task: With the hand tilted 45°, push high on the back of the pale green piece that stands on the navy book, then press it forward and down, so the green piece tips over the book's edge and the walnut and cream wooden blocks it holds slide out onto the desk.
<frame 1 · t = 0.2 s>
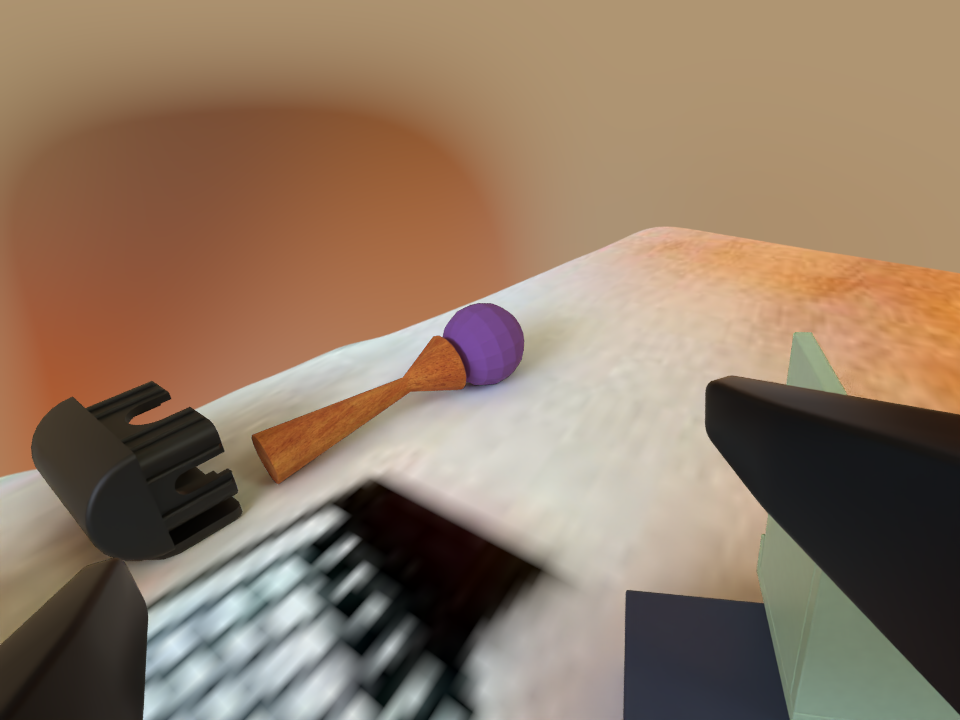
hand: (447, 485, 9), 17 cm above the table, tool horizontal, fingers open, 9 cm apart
end cap: (154, 519, 36), on the table
kendama: (408, 419, 43), on the table
green piece: (956, 658, 19), point 4 cm above the table, touching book, cream block, walnut block
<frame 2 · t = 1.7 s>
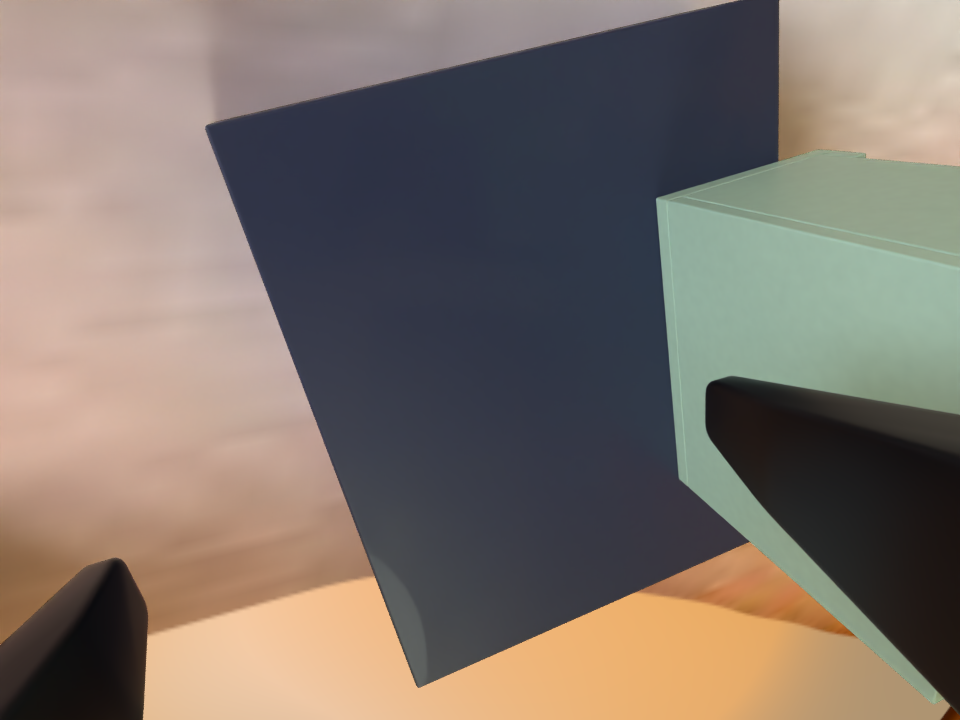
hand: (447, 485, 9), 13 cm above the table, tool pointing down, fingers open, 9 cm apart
green piece: (742, 326, 22), point 4 cm above the table, touching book, cream block, walnut block
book: (528, 345, 24), on the table
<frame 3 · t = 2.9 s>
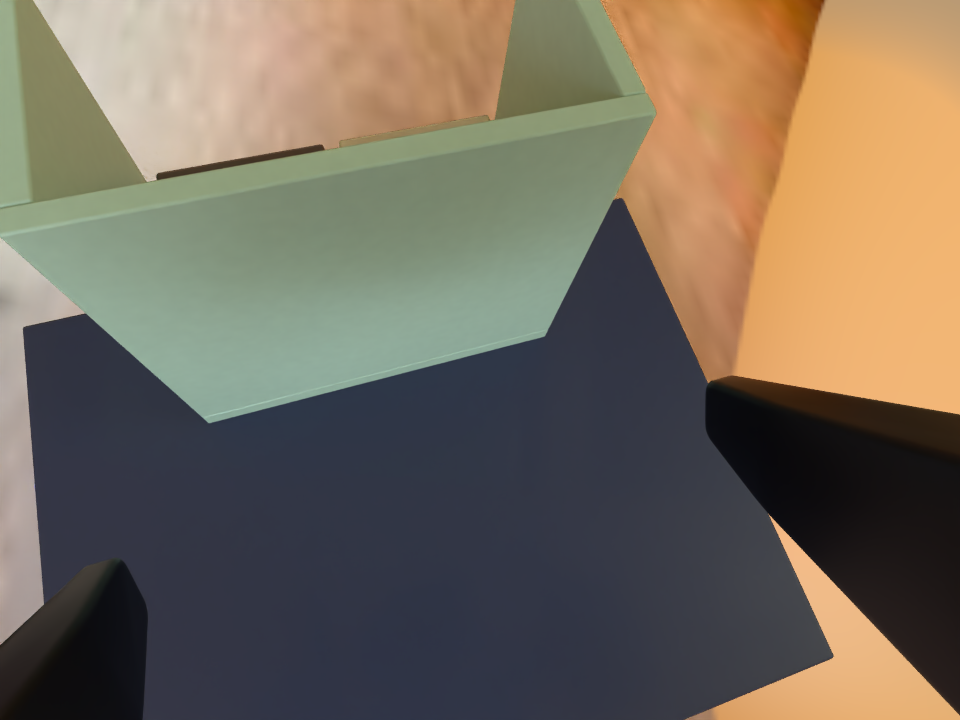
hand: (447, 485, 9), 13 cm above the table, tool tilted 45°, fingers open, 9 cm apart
walnut block: (273, 267, 17), point 7 cm above the table, touching green piece
cream block: (433, 233, 18), point 7 cm above the table, touching green piece
green piece: (362, 294, 20), point 4 cm above the table, touching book, cream block, walnut block
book: (415, 506, 22), on the table
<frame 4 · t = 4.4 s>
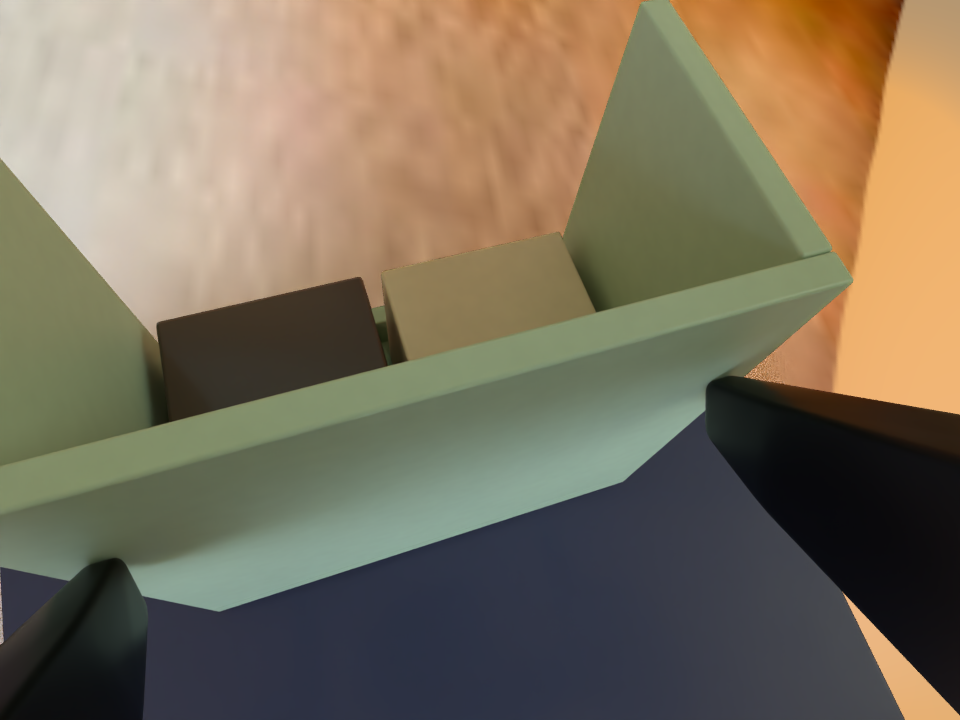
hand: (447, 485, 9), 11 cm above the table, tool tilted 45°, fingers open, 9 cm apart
walnut block: (300, 423, 14), point 7 cm above the table, touching green piece
cream block: (493, 371, 15), point 7 cm above the table, touching green piece
green piece: (403, 433, 17), point 4 cm above the table, touching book, cream block, walnut block
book: (463, 674, 18), on the table
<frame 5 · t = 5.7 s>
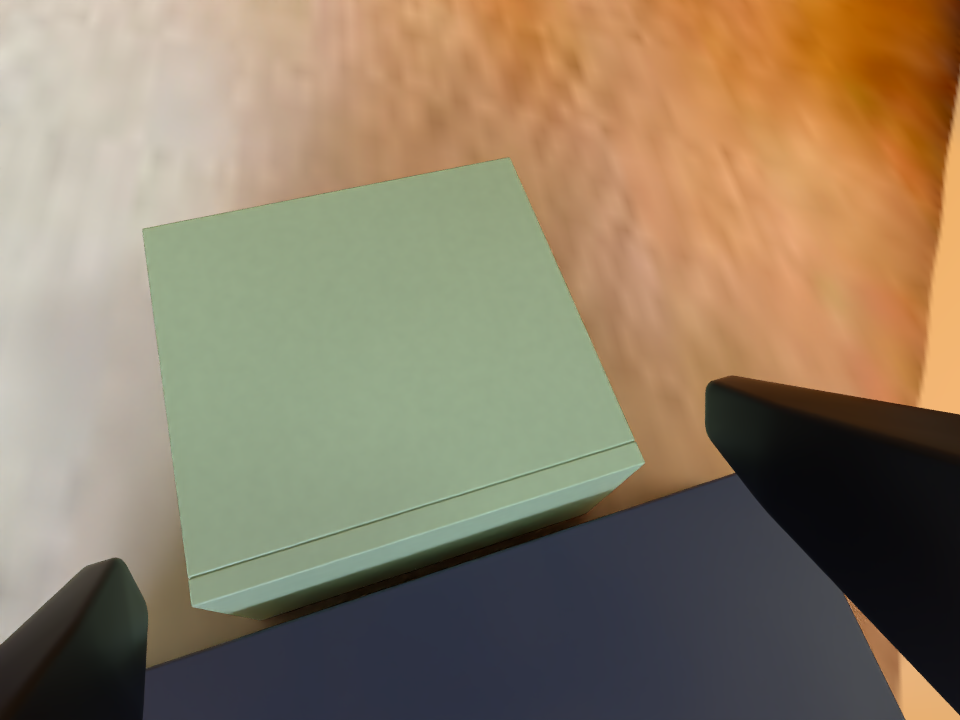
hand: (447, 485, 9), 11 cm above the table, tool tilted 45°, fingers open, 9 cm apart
green piece: (434, 549, 17), point 3 cm above the table, tilted 93°, touching cream block, walnut block
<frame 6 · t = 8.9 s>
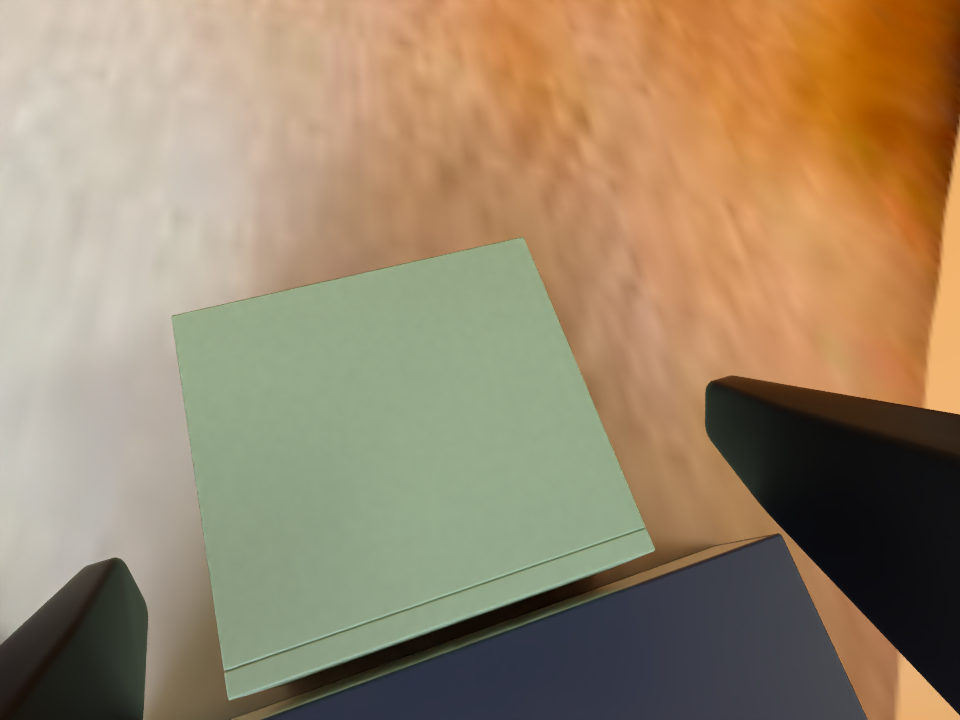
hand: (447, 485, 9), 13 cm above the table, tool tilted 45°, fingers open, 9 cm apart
green piece: (452, 624, 17), point 3 cm above the table, tilted 93°, touching cream block, walnut block
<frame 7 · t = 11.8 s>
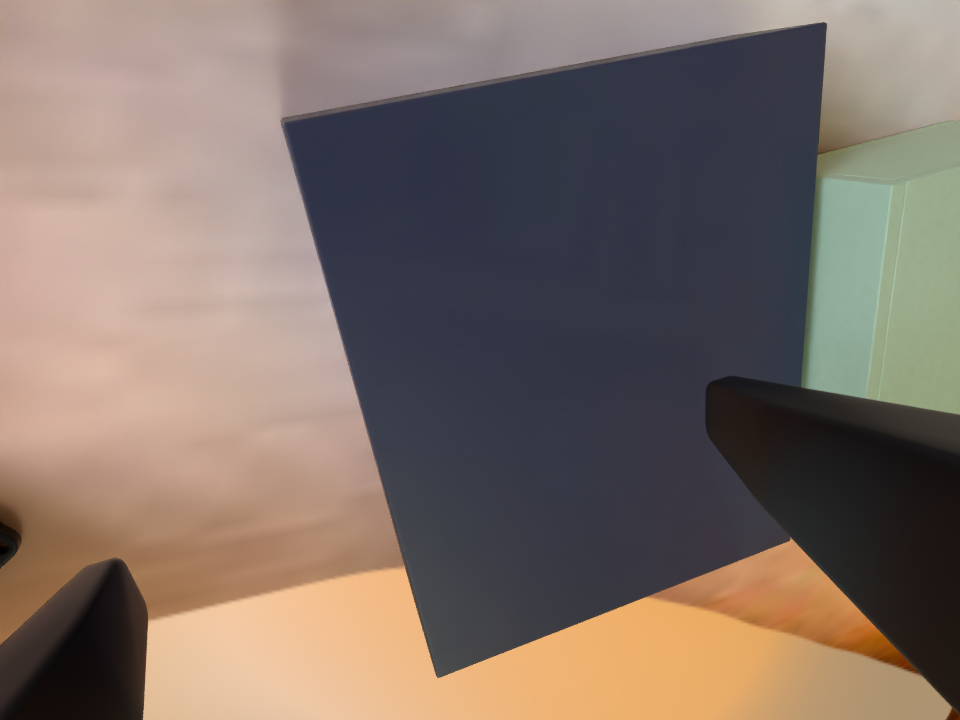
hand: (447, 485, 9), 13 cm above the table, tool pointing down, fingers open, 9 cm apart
green piece: (801, 318, 23), point 3 cm above the table, tilted 93°, touching cream block, walnut block
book: (559, 349, 24), on the table
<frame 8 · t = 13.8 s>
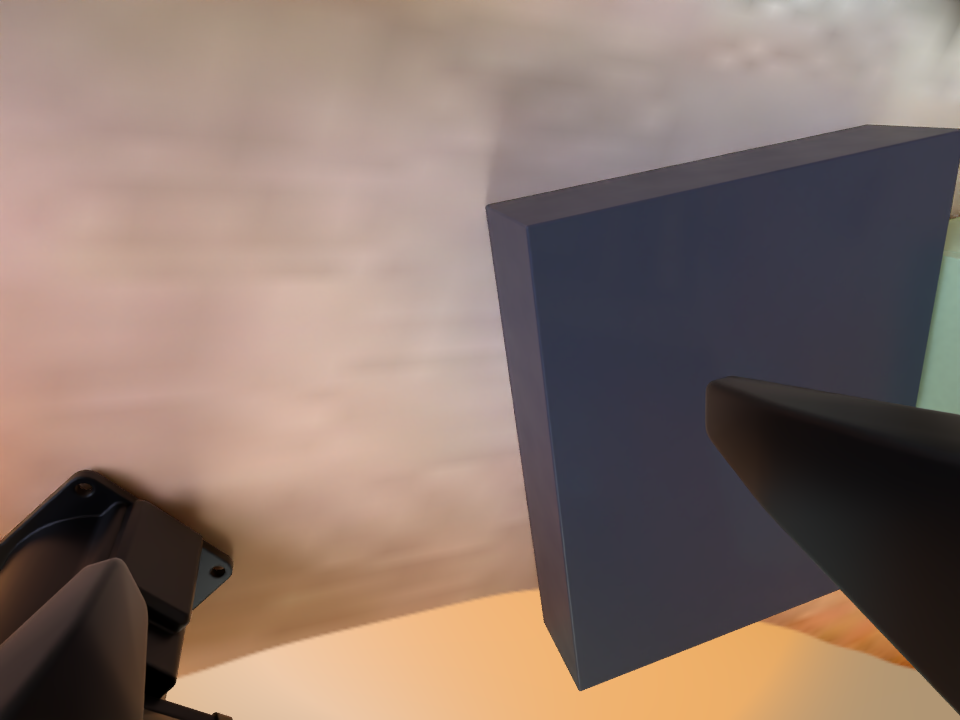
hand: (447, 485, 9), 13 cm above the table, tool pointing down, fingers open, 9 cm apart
green piece: (911, 374, 26), point 3 cm above the table, tilted 93°, touching cream block, walnut block
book: (689, 397, 27), on the table
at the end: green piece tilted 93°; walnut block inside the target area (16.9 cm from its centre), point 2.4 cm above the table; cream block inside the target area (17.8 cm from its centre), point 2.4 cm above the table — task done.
